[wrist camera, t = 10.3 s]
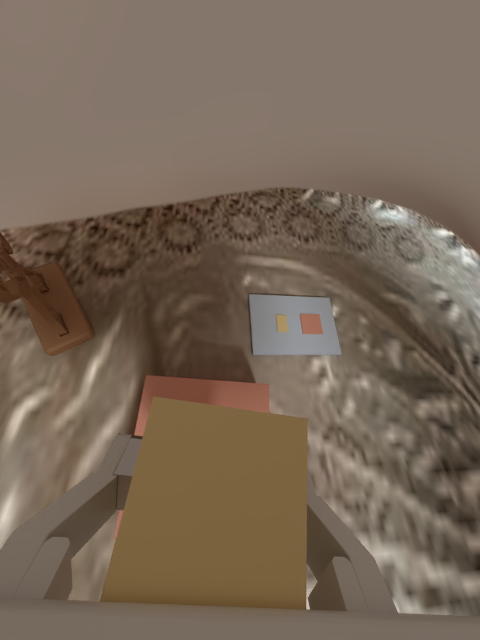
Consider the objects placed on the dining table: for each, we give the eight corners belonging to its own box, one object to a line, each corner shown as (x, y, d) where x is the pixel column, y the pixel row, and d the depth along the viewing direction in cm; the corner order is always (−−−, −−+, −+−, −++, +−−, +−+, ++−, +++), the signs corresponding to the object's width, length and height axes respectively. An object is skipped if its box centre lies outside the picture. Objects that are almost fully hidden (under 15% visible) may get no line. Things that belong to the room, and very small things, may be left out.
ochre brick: (244, 419, 15) (307, 418, 7) (235, 504, 13) (305, 637, 5) (174, 409, 15) (153, 396, 6) (154, 496, 13) (91, 632, 5)
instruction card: (328, 298, 29) (329, 297, 29) (339, 354, 26) (342, 353, 26) (248, 295, 27) (249, 293, 27) (252, 355, 25) (253, 354, 24)
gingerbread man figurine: (17, 280, 23) (-138, 158, 12) (60, 266, 25) (-45, 143, 14) (50, 357, 21) (-99, 291, 10) (95, 336, 23) (6, 258, 12)
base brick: (257, 389, 24) (269, 384, 20) (255, 513, 20) (269, 534, 16) (153, 382, 22) (146, 375, 19) (129, 514, 18) (113, 538, 15)
